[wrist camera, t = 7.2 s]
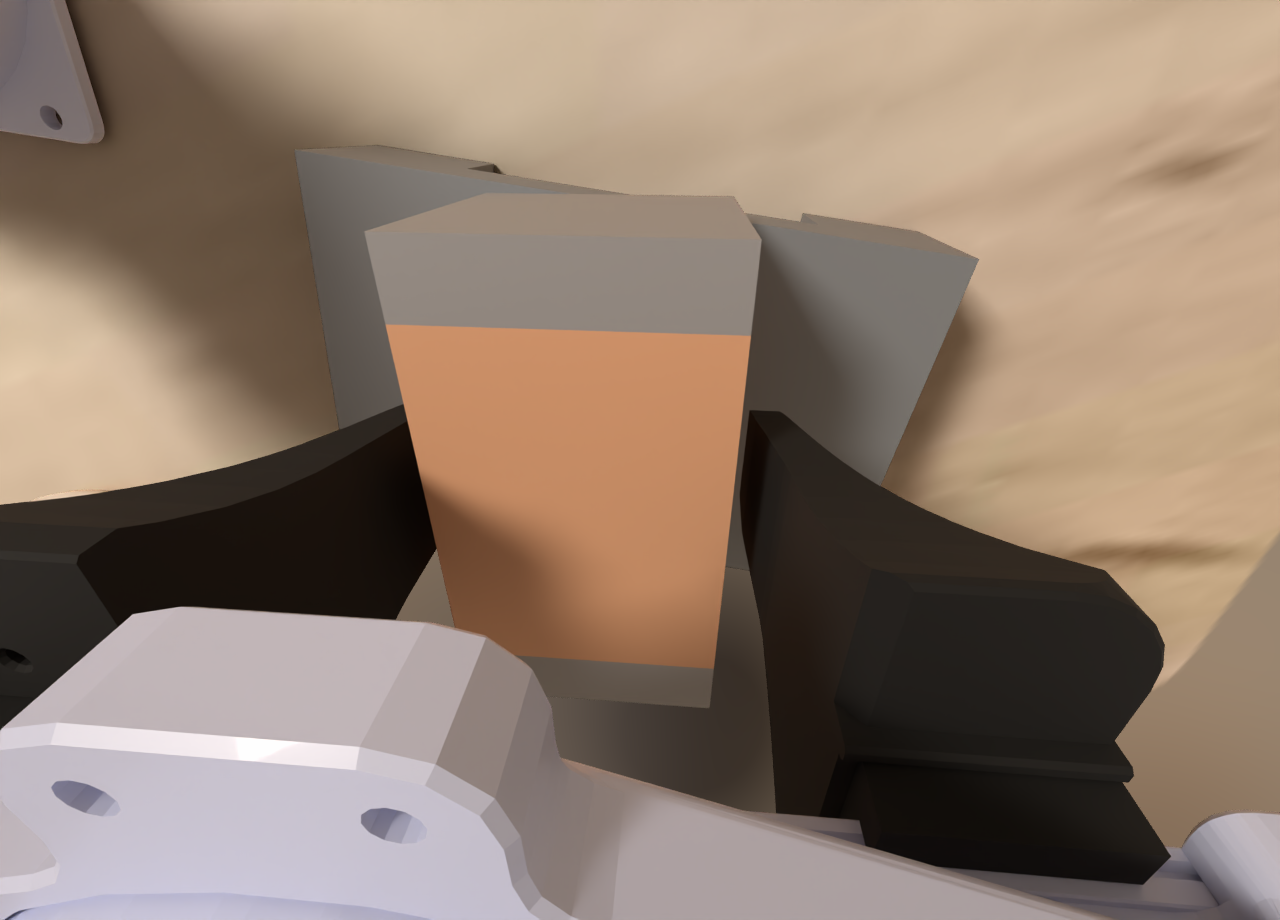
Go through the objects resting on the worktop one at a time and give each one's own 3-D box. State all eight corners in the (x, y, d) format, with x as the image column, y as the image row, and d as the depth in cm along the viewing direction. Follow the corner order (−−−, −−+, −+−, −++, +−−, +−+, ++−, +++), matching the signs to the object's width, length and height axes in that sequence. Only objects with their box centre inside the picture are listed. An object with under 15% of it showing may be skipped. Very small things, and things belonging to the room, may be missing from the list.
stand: (405, 447, 19) (351, 508, 16) (377, 145, 14) (293, 149, 11) (814, 512, 19) (838, 584, 16) (918, 231, 14) (979, 259, 11)
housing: (703, 549, 16) (709, 708, 11) (528, 540, 16) (469, 690, 12) (734, 196, 11) (761, 239, 7) (486, 192, 11) (363, 230, 7)
